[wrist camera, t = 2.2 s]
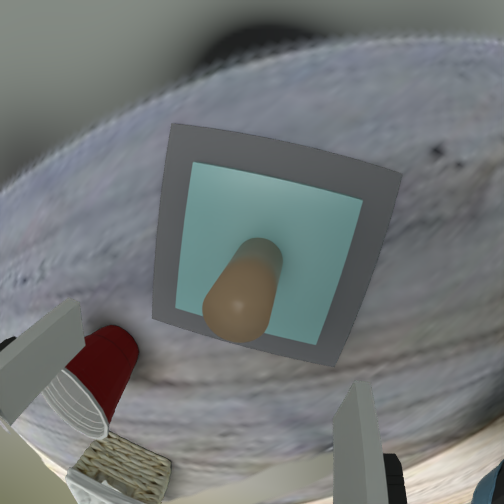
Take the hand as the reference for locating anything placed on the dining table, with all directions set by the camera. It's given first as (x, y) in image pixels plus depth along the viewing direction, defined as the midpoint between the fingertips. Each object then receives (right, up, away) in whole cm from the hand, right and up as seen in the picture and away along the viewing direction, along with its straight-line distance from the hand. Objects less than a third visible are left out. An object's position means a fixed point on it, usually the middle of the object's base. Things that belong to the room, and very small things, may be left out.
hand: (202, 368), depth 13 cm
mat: (+3, +5, +15) cm, 16 cm away
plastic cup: (-15, -6, +22) cm, 27 cm away
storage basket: (-21, -38, +34) cm, 55 cm away
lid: (+3, +5, +14) cm, 15 cm away
